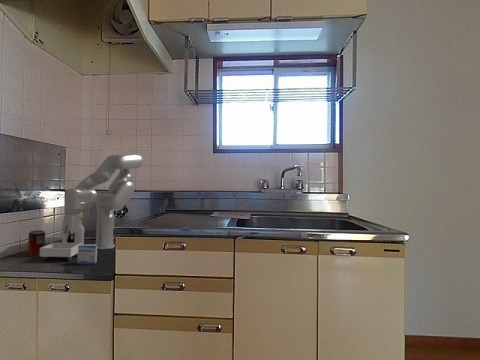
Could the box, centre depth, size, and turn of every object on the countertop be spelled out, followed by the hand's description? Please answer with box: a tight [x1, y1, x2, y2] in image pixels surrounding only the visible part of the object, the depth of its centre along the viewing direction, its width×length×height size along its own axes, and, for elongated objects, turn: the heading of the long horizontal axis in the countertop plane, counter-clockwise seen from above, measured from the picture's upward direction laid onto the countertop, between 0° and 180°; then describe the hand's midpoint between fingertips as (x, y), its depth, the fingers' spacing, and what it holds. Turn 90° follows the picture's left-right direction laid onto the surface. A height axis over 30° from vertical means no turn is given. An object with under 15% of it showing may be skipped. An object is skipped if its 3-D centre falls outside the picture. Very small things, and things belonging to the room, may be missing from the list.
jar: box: [61, 219, 85, 244], centre depth 188 cm, size 12×10×15 cm
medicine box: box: [76, 243, 98, 265], centre depth 152 cm, size 8×4×9 cm, turn 106°
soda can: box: [27, 229, 46, 257], centre depth 162 cm, size 7×7×12 cm
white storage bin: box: [39, 241, 82, 261], centre depth 158 cm, size 14×14×6 cm
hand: (70, 246), depth 168 cm, fingers closed
